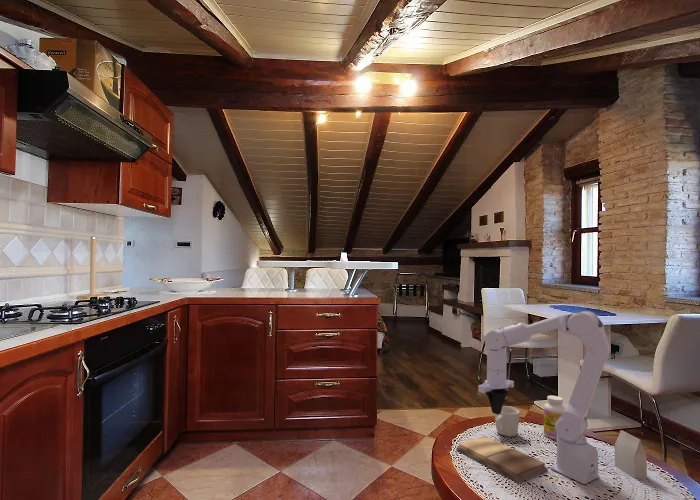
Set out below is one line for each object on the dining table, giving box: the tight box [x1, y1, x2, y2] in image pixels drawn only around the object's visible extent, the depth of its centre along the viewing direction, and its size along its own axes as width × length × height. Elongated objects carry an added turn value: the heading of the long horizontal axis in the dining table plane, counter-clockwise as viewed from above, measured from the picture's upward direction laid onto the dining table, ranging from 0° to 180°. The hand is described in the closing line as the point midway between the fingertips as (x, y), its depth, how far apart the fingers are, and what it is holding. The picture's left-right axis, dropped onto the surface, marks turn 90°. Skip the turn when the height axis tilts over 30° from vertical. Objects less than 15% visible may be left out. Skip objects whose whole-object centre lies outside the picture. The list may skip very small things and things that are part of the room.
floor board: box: [455, 446, 549, 484], centre depth 114 cm, size 21×13×2 cm, turn 32°
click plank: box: [458, 435, 513, 461], centre depth 118 cm, size 10×12×1 cm
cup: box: [494, 405, 521, 437], centre depth 132 cm, size 11×8×8 cm
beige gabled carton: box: [614, 429, 648, 479], centre depth 109 cm, size 4×7×10 cm, turn 5°
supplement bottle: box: [543, 395, 566, 441], centre depth 132 cm, size 7×7×13 cm
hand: (496, 413), depth 122 cm, fingers closed
